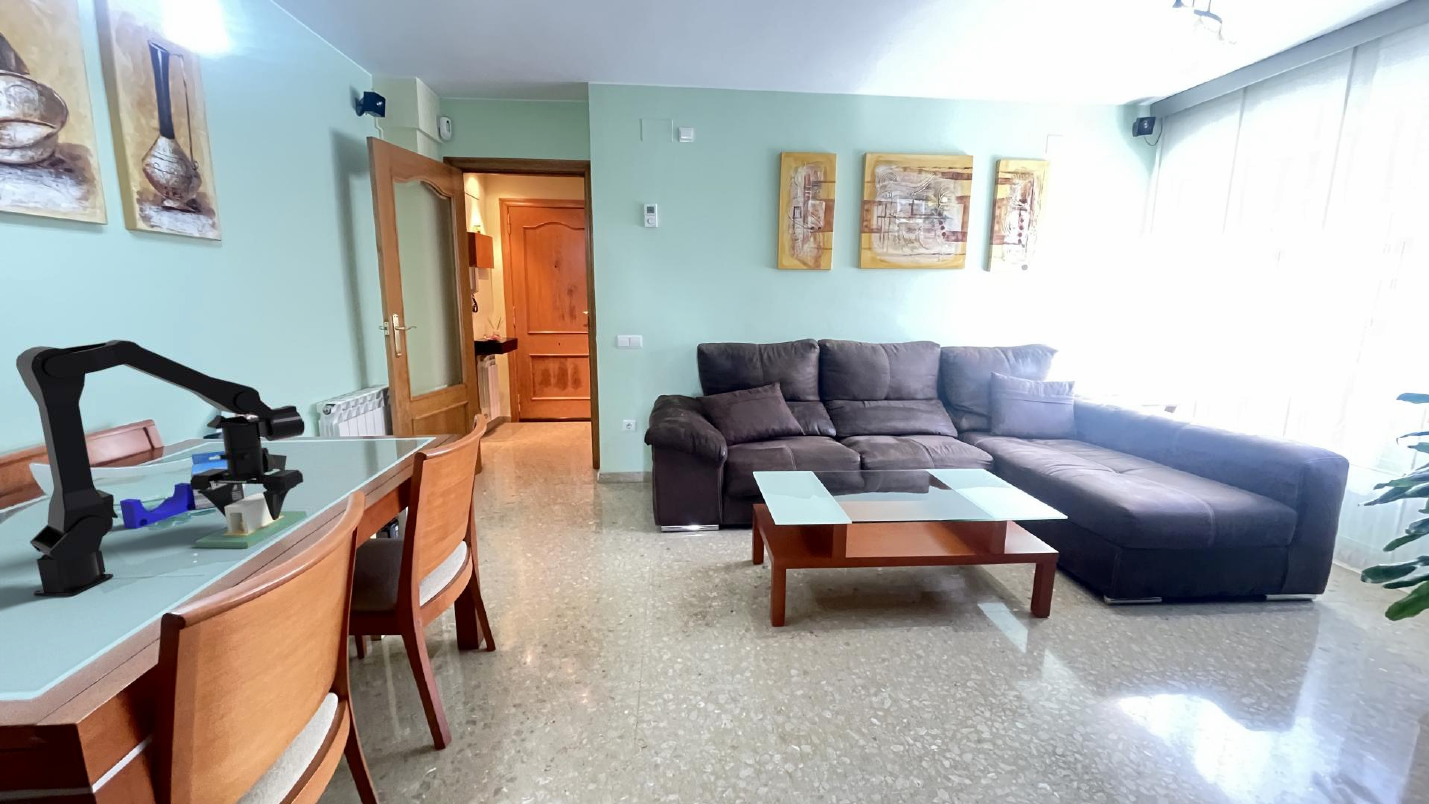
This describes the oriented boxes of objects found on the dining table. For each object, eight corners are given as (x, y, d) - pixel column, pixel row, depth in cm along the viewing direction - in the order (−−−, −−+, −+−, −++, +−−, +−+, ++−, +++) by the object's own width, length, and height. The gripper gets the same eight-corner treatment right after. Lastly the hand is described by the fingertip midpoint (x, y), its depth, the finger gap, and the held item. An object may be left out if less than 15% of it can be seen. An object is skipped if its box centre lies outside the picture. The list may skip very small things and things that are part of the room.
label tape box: (195, 510, 126) (186, 458, 124) (198, 504, 130) (190, 453, 127) (245, 503, 131) (238, 452, 129) (247, 498, 134) (240, 448, 132)
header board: (248, 548, 108) (245, 532, 108) (196, 547, 108) (193, 531, 107) (306, 516, 124) (304, 502, 123) (261, 515, 124) (259, 502, 123)
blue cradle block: (179, 507, 128) (175, 482, 127) (196, 508, 128) (192, 483, 127) (118, 528, 117) (113, 500, 116) (137, 529, 116) (132, 502, 115)
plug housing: (248, 533, 112) (244, 507, 111) (228, 532, 112) (224, 506, 111) (278, 517, 120) (275, 493, 119) (259, 517, 120) (256, 493, 119)
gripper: (317, 437, 121) (325, 505, 123) (230, 436, 120) (239, 504, 123) (278, 450, 110) (287, 525, 112) (182, 449, 109) (194, 524, 112)
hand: (253, 519), depth 115 cm, fingers open, 9 cm apart
